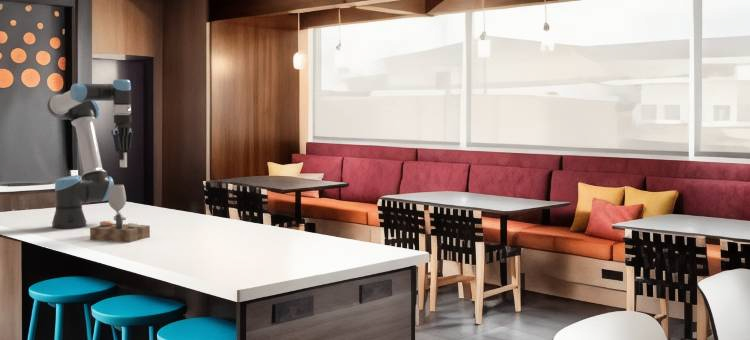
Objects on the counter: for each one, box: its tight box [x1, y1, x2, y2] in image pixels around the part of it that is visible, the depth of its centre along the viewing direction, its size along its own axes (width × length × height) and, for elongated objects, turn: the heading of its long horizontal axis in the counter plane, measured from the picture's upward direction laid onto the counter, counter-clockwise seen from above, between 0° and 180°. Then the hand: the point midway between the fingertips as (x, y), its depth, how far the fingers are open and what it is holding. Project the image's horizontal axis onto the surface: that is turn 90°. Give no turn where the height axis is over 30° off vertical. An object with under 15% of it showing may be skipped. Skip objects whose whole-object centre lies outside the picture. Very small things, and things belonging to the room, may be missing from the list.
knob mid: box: [113, 214, 127, 227], centre depth 366 cm, size 5×5×6 cm
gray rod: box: [115, 211, 122, 229], centre depth 359 cm, size 2×2×7 cm
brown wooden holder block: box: [89, 223, 151, 243], centre depth 366 cm, size 20×14×5 cm
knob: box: [127, 222, 141, 228], centre depth 364 cm, size 5×5×6 cm
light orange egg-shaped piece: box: [99, 220, 113, 227], centre depth 368 cm, size 5×5×6 cm
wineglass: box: [107, 184, 127, 214], centre depth 384 cm, size 8×8×21 cm
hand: (123, 167), depth 384 cm, fingers closed
